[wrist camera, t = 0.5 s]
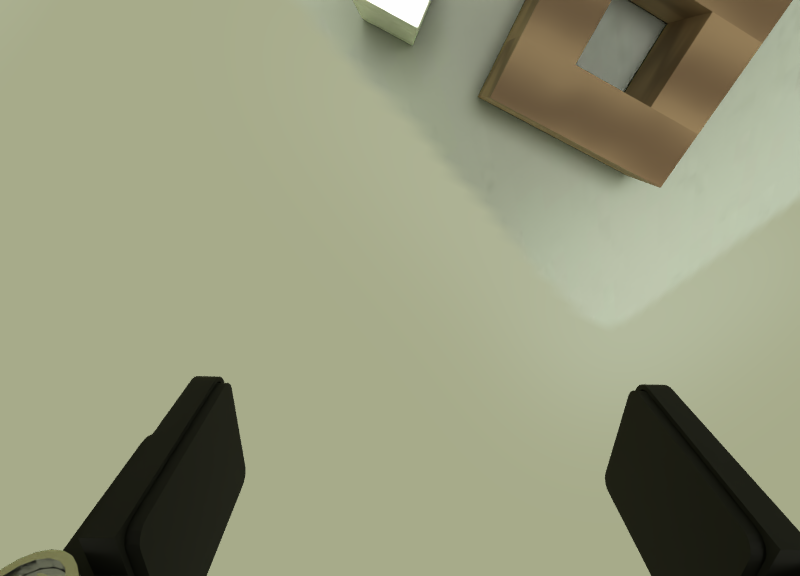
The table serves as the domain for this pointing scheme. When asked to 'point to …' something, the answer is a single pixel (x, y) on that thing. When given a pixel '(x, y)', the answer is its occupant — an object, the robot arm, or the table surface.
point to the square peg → (395, 16)
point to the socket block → (648, 91)
